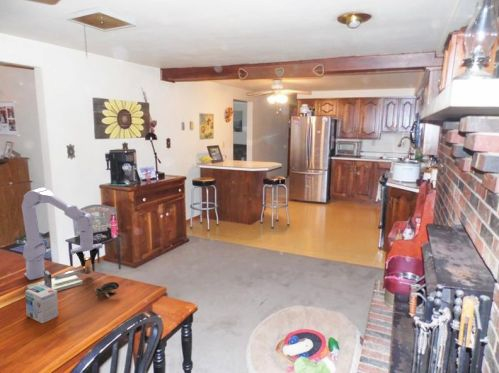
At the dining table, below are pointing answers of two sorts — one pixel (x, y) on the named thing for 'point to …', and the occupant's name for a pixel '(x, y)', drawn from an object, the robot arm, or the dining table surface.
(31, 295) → the light bulb box
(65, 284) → the eye stand
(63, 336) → the dining table surface
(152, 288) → the dining table surface
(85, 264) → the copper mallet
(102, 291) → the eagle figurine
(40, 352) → the dining table surface
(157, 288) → the dining table surface
